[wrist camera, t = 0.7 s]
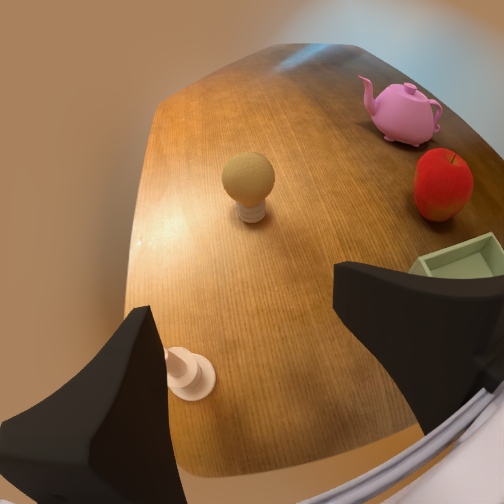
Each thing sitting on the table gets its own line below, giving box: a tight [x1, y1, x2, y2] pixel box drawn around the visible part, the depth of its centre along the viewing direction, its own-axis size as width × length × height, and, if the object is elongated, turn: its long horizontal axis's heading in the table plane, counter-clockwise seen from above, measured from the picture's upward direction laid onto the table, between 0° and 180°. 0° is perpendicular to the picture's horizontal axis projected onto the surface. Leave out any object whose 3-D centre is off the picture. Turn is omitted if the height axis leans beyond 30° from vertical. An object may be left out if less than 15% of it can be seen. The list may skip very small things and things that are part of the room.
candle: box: [163, 347, 216, 401], centre depth 23 cm, size 5×5×10 cm
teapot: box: [359, 76, 442, 147], centre depth 46 cm, size 20×14×12 cm
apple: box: [414, 148, 474, 222], centre depth 33 cm, size 9×9×12 cm
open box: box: [408, 232, 504, 279], centre depth 27 cm, size 13×16×4 cm
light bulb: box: [222, 152, 275, 223], centre depth 35 cm, size 6×6×10 cm
